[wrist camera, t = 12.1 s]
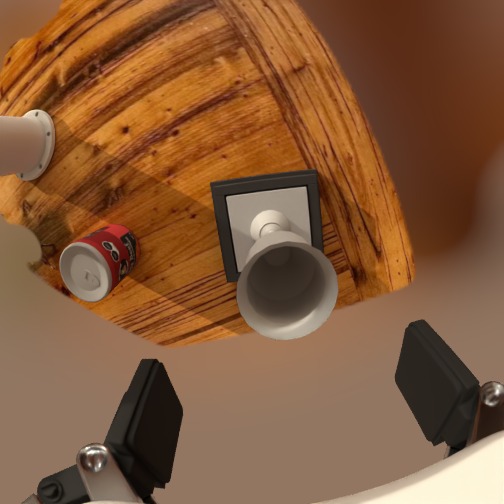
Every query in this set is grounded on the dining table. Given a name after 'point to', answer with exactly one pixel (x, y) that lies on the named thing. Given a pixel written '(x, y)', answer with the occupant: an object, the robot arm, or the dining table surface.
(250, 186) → the scale
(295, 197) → the pan
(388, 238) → the dining table surface
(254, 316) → the chalice
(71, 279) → the canned food
